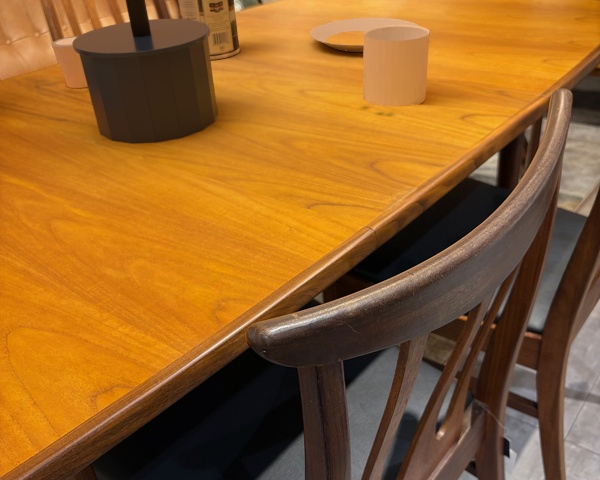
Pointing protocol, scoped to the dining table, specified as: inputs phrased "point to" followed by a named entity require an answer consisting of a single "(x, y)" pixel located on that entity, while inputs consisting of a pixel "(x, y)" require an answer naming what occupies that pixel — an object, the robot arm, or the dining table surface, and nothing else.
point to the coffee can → (215, 24)
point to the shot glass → (69, 62)
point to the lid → (141, 35)
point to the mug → (395, 65)
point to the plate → (347, 25)
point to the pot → (152, 94)
